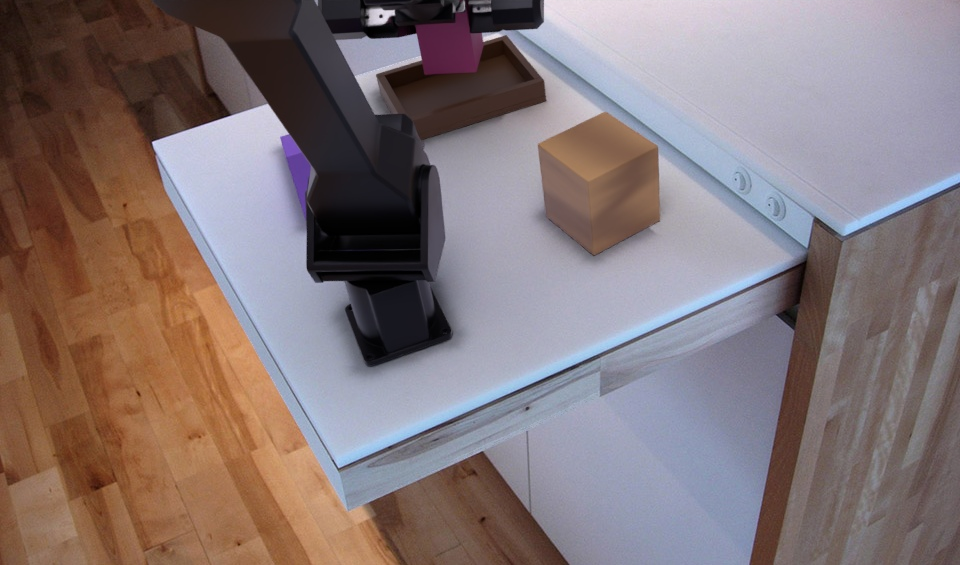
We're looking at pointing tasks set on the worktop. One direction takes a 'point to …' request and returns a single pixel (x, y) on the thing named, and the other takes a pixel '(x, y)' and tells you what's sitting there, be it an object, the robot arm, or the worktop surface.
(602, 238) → the oak block
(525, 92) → the tray
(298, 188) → the purple block
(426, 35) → the mulberry block
